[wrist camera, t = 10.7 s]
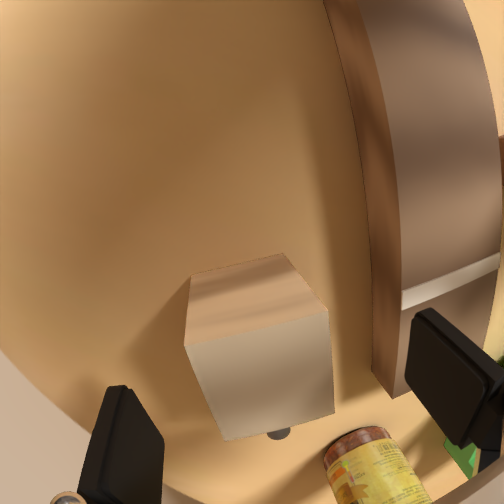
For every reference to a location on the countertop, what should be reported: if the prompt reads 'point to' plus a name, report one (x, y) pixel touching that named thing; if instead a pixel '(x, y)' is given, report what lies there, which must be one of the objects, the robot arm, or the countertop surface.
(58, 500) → the robot arm
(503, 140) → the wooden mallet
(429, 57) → the walnut board
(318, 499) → the countertop surface
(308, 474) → the countertop surface
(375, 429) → the sauce bottle
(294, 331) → the block
